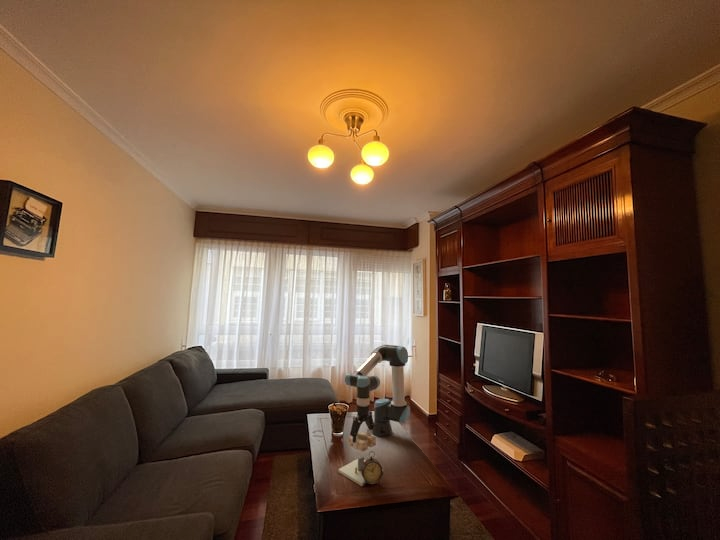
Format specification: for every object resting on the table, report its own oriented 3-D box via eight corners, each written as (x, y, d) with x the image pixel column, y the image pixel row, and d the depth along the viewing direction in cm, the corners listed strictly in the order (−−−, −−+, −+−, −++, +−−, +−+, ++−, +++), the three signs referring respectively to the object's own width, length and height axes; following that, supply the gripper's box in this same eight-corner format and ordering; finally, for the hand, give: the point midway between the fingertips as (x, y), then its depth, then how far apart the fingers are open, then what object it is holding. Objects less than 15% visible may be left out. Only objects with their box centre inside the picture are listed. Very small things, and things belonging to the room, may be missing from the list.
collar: (348, 444, 164) (348, 437, 165) (361, 438, 172) (361, 431, 173) (363, 451, 157) (363, 443, 157) (375, 445, 165) (375, 437, 165)
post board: (360, 459, 175) (360, 446, 176) (383, 472, 163) (383, 457, 164) (338, 472, 162) (338, 458, 163) (361, 486, 150) (361, 471, 151)
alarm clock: (362, 488, 148) (363, 454, 150) (360, 481, 154) (360, 449, 155) (382, 485, 151) (383, 452, 153) (379, 479, 156) (380, 447, 158)
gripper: (371, 398, 178) (370, 436, 175) (344, 407, 161) (343, 449, 158) (380, 401, 173) (380, 440, 170) (353, 411, 156) (352, 454, 153)
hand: (362, 444), depth 164 cm, fingers closed on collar, 11 cm apart
